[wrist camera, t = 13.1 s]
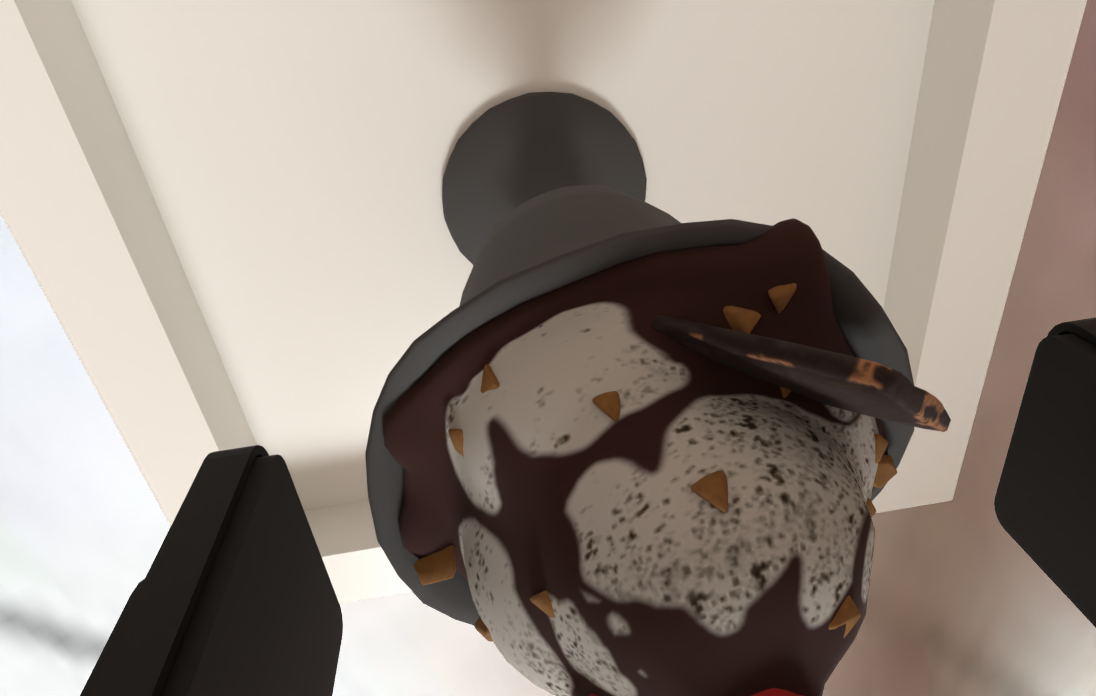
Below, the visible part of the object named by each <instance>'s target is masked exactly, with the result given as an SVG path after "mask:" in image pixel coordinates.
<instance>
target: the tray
mask: <svg viewBox="0 0 1096 696" xmlns="http://www.w3.org/2000/svg"><path fill="white" fill-rule="evenodd" d="M1086 3H1087V0H0V213H1V215H2V217H3V219H4V221H5V222H6V224H7V226H8V228H9V230H10V232H11V233H12V235H13V237H14V239H15V241H16V243H17V244H18V246H19V248H20V250H21V252H22V254H23V255H24V257H25V259H26V261H27V263H28V265H29V267H30V268H31V270H32V272H33V274H34V276H35V278H36V279H37V281H38V283H39V285H40V287H41V289H42V290H43V292H44V294H45V296H46V298H47V300H48V302H49V303H50V305H51V307H52V309H53V311H54V313H55V314H56V316H57V318H58V320H59V322H60V324H61V325H62V327H63V329H64V331H65V333H66V335H67V336H68V338H69V340H70V342H71V344H72V346H73V348H74V349H75V351H76V353H77V355H78V357H79V359H80V360H81V362H82V364H83V366H84V368H85V370H86V371H87V373H88V375H89V377H90V379H91V381H92V383H93V384H94V386H95V388H96V390H97V392H98V394H99V395H100V397H101V399H102V401H103V403H104V405H105V406H106V408H107V410H108V412H109V414H110V416H111V417H112V419H113V421H114V423H115V425H116V427H117V429H118V430H119V432H120V434H121V436H122V438H123V440H124V441H125V443H126V445H127V447H128V449H129V451H130V452H131V454H132V456H133V458H134V460H135V462H136V464H137V465H138V467H139V469H140V471H141V473H142V475H143V476H144V478H145V480H146V482H147V484H148V486H149V487H150V489H151V491H152V493H153V495H154V497H155V498H156V500H157V502H158V504H159V506H160V508H161V510H162V511H163V513H164V515H165V517H166V519H167V521H168V522H169V524H170V526H171V525H172V523H173V521H174V519H175V517H176V515H177V513H178V511H179V509H180V507H181V505H182V503H183V501H184V499H185V497H186V495H187V493H188V491H189V489H190V487H191V485H192V483H193V481H194V479H195V477H196V475H197V473H198V471H199V469H200V467H201V465H202V463H203V461H204V459H205V458H206V456H207V455H208V454H209V453H212V452H216V451H222V450H229V449H235V448H242V447H248V446H255V445H260V446H263V447H264V448H265V449H266V451H267V452H268V454H269V456H270V455H277V454H278V455H281V456H282V457H283V459H284V460H285V462H286V465H287V467H288V470H289V473H290V475H291V478H292V480H293V483H294V486H295V488H296V491H297V494H298V496H299V499H300V502H301V504H302V507H303V509H304V512H305V515H306V517H307V520H308V523H309V525H310V528H311V531H312V533H313V536H314V538H315V541H316V544H317V546H318V549H319V552H320V554H321V557H322V560H323V562H324V565H325V567H326V570H327V573H328V575H329V578H330V581H331V583H332V586H333V589H334V591H335V594H336V596H337V599H338V602H339V604H343V603H349V602H355V601H361V600H367V599H372V598H378V597H384V596H390V595H396V594H402V593H408V592H413V591H412V590H411V589H410V588H409V587H408V586H407V585H406V584H405V583H404V582H403V581H402V580H401V579H400V577H399V576H398V575H397V573H396V571H395V570H394V568H393V566H392V565H391V563H390V561H389V560H388V558H387V556H386V555H385V553H384V551H383V549H382V548H381V546H380V544H379V543H378V541H377V537H376V532H375V527H374V523H373V518H372V513H371V508H370V503H369V499H368V490H367V474H366V458H365V452H366V447H367V441H368V436H369V430H370V425H371V419H372V414H373V410H374V407H375V405H376V402H377V400H378V398H379V395H380V393H381V390H382V388H383V386H384V383H385V381H386V378H387V376H388V374H389V373H390V371H391V370H392V369H393V367H394V366H395V365H396V363H397V362H398V361H399V360H400V358H401V357H402V356H403V354H404V353H405V352H406V350H407V349H408V348H409V346H410V345H411V344H412V342H413V341H414V340H415V339H417V338H418V337H419V336H420V335H422V334H423V333H424V332H426V331H427V330H428V329H430V328H431V327H432V326H433V325H435V324H436V323H437V322H439V321H440V320H441V319H442V318H444V317H445V316H446V315H448V314H449V313H450V312H452V311H453V310H455V309H456V308H458V307H459V306H460V301H461V297H462V292H463V290H464V288H465V285H466V283H467V280H468V278H469V275H470V273H471V271H472V268H473V265H472V263H471V262H470V261H469V260H468V259H467V258H466V257H465V256H464V255H463V254H462V253H461V252H460V251H459V249H458V247H457V245H456V244H455V242H454V240H453V238H452V236H451V234H450V232H449V229H448V227H447V224H446V222H445V219H444V213H443V203H442V185H443V176H444V173H445V170H446V167H447V163H448V160H449V158H450V156H451V153H452V151H453V149H454V147H455V145H456V143H457V141H458V139H459V138H460V137H461V136H462V135H463V133H464V132H465V131H466V130H467V129H468V128H469V127H470V125H471V124H472V123H473V122H474V121H476V120H477V119H478V118H479V117H480V116H481V115H482V114H484V113H485V112H486V111H487V110H488V109H490V108H492V107H494V106H496V105H498V104H500V103H502V102H504V101H506V100H508V99H511V98H514V97H517V96H520V95H523V94H526V93H532V92H561V93H572V94H575V95H577V96H580V97H582V98H585V99H588V100H590V101H592V102H594V103H596V104H598V105H600V106H601V107H603V108H605V109H607V110H609V111H610V112H611V113H612V114H613V115H614V116H615V117H616V118H617V119H618V120H619V121H620V122H621V123H622V124H623V125H624V126H625V128H626V129H627V130H628V132H629V133H630V134H631V136H632V137H633V139H634V140H635V141H636V143H637V146H638V149H639V152H640V154H641V157H642V160H643V164H644V169H645V173H646V178H647V184H646V199H645V202H647V203H649V204H651V205H653V206H655V207H656V208H658V209H660V210H662V211H664V212H666V213H668V214H670V215H671V216H672V217H674V218H675V219H677V220H678V221H679V222H681V223H689V222H701V221H713V220H724V219H735V220H741V221H747V222H753V223H759V224H765V225H771V226H773V225H775V224H777V223H778V222H780V221H784V220H788V219H792V218H794V219H797V220H799V221H801V222H803V223H805V224H807V225H808V226H810V227H811V229H812V230H813V232H814V233H815V235H816V236H817V238H818V240H819V241H820V244H821V247H822V249H823V250H825V251H826V252H827V253H829V254H830V255H831V256H833V257H834V258H835V259H837V260H838V261H839V262H841V263H842V264H843V265H845V266H846V267H847V268H849V269H850V270H851V271H853V272H854V273H855V275H856V276H857V277H858V278H859V279H860V281H861V282H862V283H863V284H864V286H865V287H866V288H867V289H868V291H869V292H870V293H871V294H872V295H873V297H874V298H875V299H876V300H877V302H878V303H879V304H880V305H881V306H882V308H883V310H884V311H885V313H886V315H887V316H888V318H889V320H890V321H891V323H892V325H893V326H894V328H895V330H896V331H897V333H898V335H899V336H900V338H901V340H902V342H903V343H904V345H905V347H906V348H907V351H908V356H909V361H910V366H911V372H912V377H913V382H914V386H916V387H918V388H921V389H923V390H926V391H927V392H929V393H930V394H932V395H934V396H935V397H936V398H937V399H938V400H939V401H940V402H941V403H942V404H943V406H944V408H945V410H946V411H947V413H948V415H949V417H950V419H951V421H950V424H949V427H948V429H947V431H945V432H941V431H934V430H928V429H922V428H918V427H914V432H913V435H912V437H911V439H910V441H909V444H908V446H907V448H906V450H905V453H904V455H903V457H902V459H901V462H900V464H899V466H898V467H897V474H896V475H895V476H894V477H893V478H891V479H890V480H889V481H888V482H887V484H886V485H885V487H884V488H883V490H882V491H881V492H880V493H879V494H878V495H877V496H876V498H875V499H874V500H873V501H872V503H873V505H874V507H875V509H876V513H882V512H887V511H893V510H899V509H905V508H911V507H917V506H923V505H929V504H935V503H941V502H947V501H952V500H953V496H954V493H955V489H956V485H957V481H958V478H959V474H960V470H961V467H962V463H963V459H964V455H965V452H966V448H967V444H968V441H969V437H970V433H971V429H972V426H973V422H974V418H975V415H976V411H977V407H978V403H979V400H980V396H981V392H982V389H983V385H984V381H985V377H986V374H987V370H988V366H989V363H990V359H991V355H992V352H993V348H994V344H995V340H996V337H997V333H998V329H999V326H1000V322H1001V318H1002V314H1003V311H1004V307H1005V303H1006V300H1007V296H1008V292H1009V288H1010V285H1011V281H1012V277H1013V274H1014V270H1015V266H1016V262H1017V259H1018V255H1019V251H1020V248H1021V244H1022V240H1023V236H1024V233H1025V229H1026V225H1027V222H1028V218H1029V214H1030V211H1031V207H1032V203H1033V199H1034V196H1035V192H1036V188H1037V185H1038V181H1039V177H1040V173H1041V170H1042V166H1043V162H1044V159H1045V155H1046V151H1047V147H1048V144H1049V140H1050V136H1051V133H1052V129H1053V125H1054V121H1055V118H1056V114H1057V110H1058V107H1059V103H1060V99H1061V95H1062V92H1063V88H1064V84H1065V81H1066V77H1067V73H1068V70H1069V66H1070V62H1071V58H1072V55H1073V51H1074V47H1075V44H1076V40H1077V36H1078V32H1079V29H1080V25H1081V21H1082V18H1083V14H1084V10H1085V6H1086ZM876 513H875V514H876Z"/></svg>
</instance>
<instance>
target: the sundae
mask: <svg viewBox="0 0 1096 696" xmlns="http://www.w3.org/2000/svg"><path fill="white" fill-rule="evenodd" d="M646 184H647V178H646V173H645V169H644V164H643V160H642V157H641V154H640V152H639V149H638V146H637V143H636V141H635V140H634V139H633V137H632V136H631V134H630V133H629V132H628V130H627V129H626V128H625V126H624V125H623V124H622V123H621V122H620V121H619V120H618V119H617V118H616V117H615V116H614V115H613V114H612V113H611V112H610V111H609V110H607V109H605V108H603V107H601V106H600V105H598V104H596V103H594V102H592V101H590V100H588V99H585V98H582V97H580V96H577V95H575V94H572V93H561V92H532V93H526V94H523V95H520V96H517V97H514V98H511V99H508V100H506V101H504V102H502V103H500V104H498V105H496V106H494V107H492V108H490V109H488V110H487V111H486V112H485V113H484V114H482V115H481V116H480V117H479V118H478V119H477V120H476V121H474V122H473V123H472V124H471V125H470V127H469V128H468V129H467V130H466V131H465V132H464V133H463V135H462V136H461V137H460V138H459V139H458V141H457V143H456V145H455V147H454V149H453V151H452V153H451V156H450V158H449V160H448V163H447V167H446V170H445V173H444V176H443V185H442V203H443V213H444V219H445V222H446V224H447V227H448V229H449V232H450V234H451V236H452V238H453V240H454V242H455V244H456V245H457V247H458V249H459V251H460V252H461V253H462V254H463V255H464V256H465V257H466V258H467V259H468V260H469V261H470V262H471V263H472V265H473V268H472V271H471V273H470V275H469V278H468V280H467V283H466V285H465V288H464V290H463V292H462V297H461V301H460V306H459V307H458V308H456V309H455V310H453V311H452V312H450V313H449V314H448V315H446V316H445V317H444V318H442V319H441V320H440V321H439V322H437V323H436V324H435V325H433V326H432V327H431V328H430V329H428V330H427V331H426V332H424V333H423V334H422V335H420V336H419V337H418V338H417V339H415V340H414V341H413V342H412V344H411V345H410V346H409V348H408V349H407V350H406V352H405V353H404V354H403V356H402V357H401V358H400V360H399V361H398V362H397V363H396V365H395V366H394V367H393V369H392V370H391V371H390V373H389V374H388V376H387V378H386V381H385V383H384V386H383V388H382V390H381V393H380V395H379V398H378V400H377V402H376V405H375V407H374V410H373V414H372V419H371V425H370V430H369V436H368V441H367V447H366V452H365V458H366V474H367V490H368V499H369V503H370V508H371V513H372V518H373V523H374V527H375V532H376V537H377V541H378V543H379V544H380V546H381V548H382V549H383V551H384V553H385V555H386V556H387V558H388V560H389V561H390V563H391V565H392V566H393V568H394V570H395V571H396V573H397V575H398V576H399V577H400V579H401V580H402V581H403V582H404V583H405V584H406V585H407V586H408V587H409V588H410V589H411V590H412V591H413V593H414V594H415V595H416V596H417V597H418V598H419V599H420V600H421V601H422V602H423V603H424V604H426V605H428V606H430V607H432V608H434V609H436V610H438V611H440V612H442V613H444V614H446V615H448V616H450V617H452V618H454V619H456V620H459V621H462V622H465V623H469V624H472V625H474V626H475V628H476V630H477V631H478V632H479V633H480V634H482V635H483V636H484V637H485V638H486V639H487V640H488V641H493V642H494V644H495V645H496V647H497V648H498V649H499V651H500V652H501V654H502V655H503V656H504V658H505V659H506V661H507V662H508V663H510V664H511V665H512V666H513V667H514V668H515V669H516V670H518V671H519V672H520V673H521V674H522V675H523V676H525V677H526V678H527V679H528V680H530V681H531V682H532V683H534V684H535V685H537V686H538V687H540V688H542V689H544V690H546V691H548V692H550V693H551V694H553V695H555V696H822V693H823V689H824V685H825V683H826V681H827V680H828V678H829V676H830V675H831V673H832V672H833V670H834V669H835V667H836V666H837V664H838V663H839V661H840V660H841V658H842V657H843V655H844V654H845V652H846V651H847V650H848V648H849V647H850V645H851V644H852V642H853V641H854V639H855V637H856V635H857V633H858V630H859V628H860V626H861V624H862V621H863V619H864V617H865V614H866V606H867V598H868V590H869V581H870V573H871V565H872V557H873V548H874V535H875V529H874V526H873V522H872V519H871V517H872V516H873V515H874V514H875V513H876V509H875V507H874V505H873V503H872V501H873V500H874V499H875V498H876V496H877V495H878V494H879V493H880V492H881V491H882V490H883V488H884V487H885V485H886V484H887V482H888V481H889V480H890V479H891V478H893V477H894V476H895V475H896V474H897V467H898V466H899V464H900V462H901V459H902V457H903V455H904V453H905V450H906V448H907V446H908V444H909V441H910V439H911V437H912V435H913V432H914V427H918V428H922V429H928V430H934V431H941V432H945V431H947V429H948V427H949V424H950V421H951V419H950V417H949V415H948V413H947V411H946V410H945V408H944V406H943V404H942V403H941V402H940V401H939V400H938V399H937V398H936V397H935V396H934V395H932V394H930V393H929V392H927V391H926V390H923V389H921V388H918V387H916V386H914V382H913V377H912V372H911V366H910V361H909V356H908V351H907V348H906V347H905V345H904V343H903V342H902V340H901V338H900V336H899V335H898V333H897V331H896V330H895V328H894V326H893V325H892V323H891V321H890V320H889V318H888V316H887V315H886V313H885V311H884V310H883V308H882V306H881V305H880V304H879V303H878V302H877V300H876V299H875V298H874V297H873V295H872V294H871V293H870V292H869V291H868V289H867V288H866V287H865V286H864V284H863V283H862V282H861V281H860V279H859V278H858V277H857V276H856V275H855V273H854V272H853V271H851V270H850V269H849V268H847V267H846V266H845V265H843V264H842V263H841V262H839V261H838V260H837V259H835V258H834V257H833V256H831V255H830V254H829V253H827V252H826V251H825V250H823V249H822V247H821V244H820V241H819V240H818V238H817V236H816V235H815V233H814V232H813V230H812V229H811V227H810V226H808V225H807V224H805V223H803V222H801V221H799V220H797V219H794V218H792V219H788V220H784V221H780V222H778V223H777V224H775V225H773V226H771V225H765V224H759V223H753V222H747V221H741V220H735V219H724V220H713V221H701V222H689V223H681V222H679V221H678V220H677V219H675V218H674V217H672V216H671V215H670V214H668V213H666V212H664V211H662V210H660V209H658V208H656V207H655V206H653V205H651V204H649V203H647V202H645V199H646Z"/></svg>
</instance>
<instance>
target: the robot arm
mask: <svg viewBox="0 0 1096 696" xmlns="http://www.w3.org/2000/svg"><path fill="white" fill-rule="evenodd" d="M994 505H995V512H996V515H997V518H998V520H999V522H1000V524H1001V525H1002V526H1003V528H1004V529H1005V530H1006V531H1007V532H1008V533H1009V535H1010V536H1011V537H1012V538H1013V539H1014V540H1015V541H1016V542H1017V543H1018V544H1019V545H1020V546H1021V547H1022V549H1023V550H1024V551H1025V552H1026V553H1027V554H1028V555H1029V556H1030V557H1031V558H1032V559H1033V560H1034V561H1035V563H1036V564H1037V565H1038V566H1039V567H1040V568H1041V569H1042V570H1043V571H1044V572H1045V573H1046V574H1047V575H1048V577H1049V578H1050V579H1051V580H1052V581H1053V582H1054V583H1055V584H1056V585H1057V586H1058V587H1059V588H1060V589H1061V591H1062V592H1063V593H1064V594H1065V595H1066V596H1067V597H1068V598H1069V599H1070V600H1071V601H1072V602H1073V603H1074V605H1075V606H1076V607H1077V608H1078V609H1079V610H1080V611H1081V612H1082V613H1083V614H1084V615H1085V616H1086V617H1087V619H1088V620H1089V621H1090V622H1091V623H1092V624H1093V625H1094V626H1095V627H1096V318H1091V319H1084V320H1077V321H1071V322H1064V323H1061V324H1058V325H1056V326H1055V327H1054V328H1053V329H1052V330H1051V331H1050V332H1049V334H1048V336H1047V338H1044V339H1043V340H1042V341H1041V342H1040V343H1039V345H1038V347H1037V349H1036V353H1035V357H1034V360H1033V364H1032V367H1031V371H1030V375H1029V378H1028V382H1027V385H1026V389H1025V392H1024V396H1023V400H1022V403H1021V407H1020V410H1019V414H1018V417H1017V421H1016V425H1015V428H1014V432H1013V435H1012V439H1011V443H1010V446H1009V450H1008V453H1007V457H1006V460H1005V464H1004V468H1003V471H1002V475H1001V478H1000V482H999V485H998V489H997V493H996V496H995V502H994ZM342 631H343V623H342V613H341V608H340V605H339V602H338V599H337V596H336V594H335V591H334V589H333V586H332V583H331V581H330V578H329V575H328V573H327V570H326V567H325V565H324V562H323V560H322V557H321V554H320V552H319V549H318V546H317V544H316V541H315V538H314V536H313V533H312V531H311V528H310V525H309V523H308V520H307V517H306V515H305V512H304V509H303V507H302V504H301V502H300V499H299V496H298V494H297V491H296V488H295V486H294V483H293V480H292V478H291V475H290V473H289V470H288V467H287V465H286V462H285V460H284V459H283V457H282V456H281V455H278V454H277V455H270V456H269V454H268V452H267V451H266V449H265V448H264V447H263V446H260V445H255V446H248V447H242V448H235V449H229V450H222V451H216V452H212V453H209V454H208V455H207V456H206V458H205V459H204V461H203V463H202V465H201V467H200V469H199V471H198V473H197V475H196V477H195V479H194V481H193V483H192V485H191V487H190V489H189V491H188V493H187V495H186V497H185V499H184V501H183V503H182V505H181V507H180V509H179V511H178V513H177V515H176V517H175V519H174V521H173V523H172V525H171V527H170V529H169V532H168V534H167V536H166V538H165V540H164V542H163V544H162V546H161V548H160V550H159V552H158V554H157V556H156V558H155V560H154V562H153V564H152V566H151V568H150V570H149V572H148V574H147V576H146V578H145V579H144V580H143V581H141V582H140V583H139V584H138V585H137V587H136V588H135V590H134V591H133V593H132V594H131V596H130V598H129V600H128V602H127V604H126V606H125V608H124V610H123V612H122V614H121V616H120V618H119V620H118V622H117V624H116V626H115V628H114V630H113V631H112V633H111V635H110V637H109V639H108V641H107V643H106V645H105V647H104V649H103V651H102V653H101V655H100V657H99V659H98V661H97V663H96V665H95V667H94V669H93V671H92V673H91V675H90V677H89V679H88V681H87V683H86V685H85V687H84V689H83V691H82V693H81V695H80V696H332V693H333V687H334V681H335V675H336V669H337V663H338V657H339V651H340V645H341V640H342Z"/></svg>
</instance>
